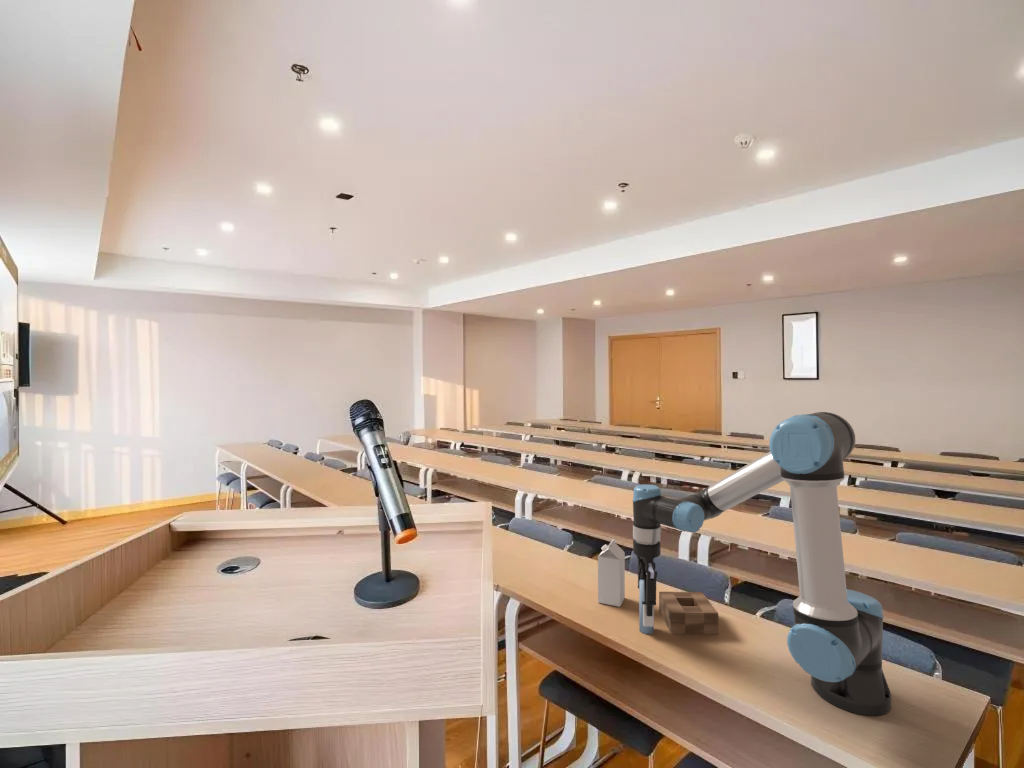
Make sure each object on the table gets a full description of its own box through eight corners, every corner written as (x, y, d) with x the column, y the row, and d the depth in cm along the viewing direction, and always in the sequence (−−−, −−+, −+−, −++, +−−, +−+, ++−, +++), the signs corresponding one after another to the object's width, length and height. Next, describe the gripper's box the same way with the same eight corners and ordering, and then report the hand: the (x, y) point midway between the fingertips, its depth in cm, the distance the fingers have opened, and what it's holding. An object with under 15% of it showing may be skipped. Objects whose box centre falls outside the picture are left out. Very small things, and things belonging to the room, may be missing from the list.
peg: (655, 634, 138) (655, 585, 138) (641, 634, 138) (641, 584, 138) (651, 626, 142) (652, 578, 142) (637, 626, 142) (637, 578, 142)
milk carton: (624, 597, 160) (624, 540, 160) (620, 607, 154) (620, 547, 153) (603, 593, 163) (603, 537, 163) (597, 603, 157) (597, 544, 156)
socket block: (718, 634, 138) (718, 613, 138) (671, 633, 138) (671, 612, 138) (701, 611, 151) (702, 592, 151) (659, 610, 151) (659, 591, 151)
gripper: (668, 551, 131) (668, 638, 132) (652, 530, 148) (652, 607, 148) (639, 551, 131) (639, 637, 132) (627, 530, 148) (627, 607, 149)
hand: (646, 621), depth 140 cm, fingers closed on peg, 4 cm apart
